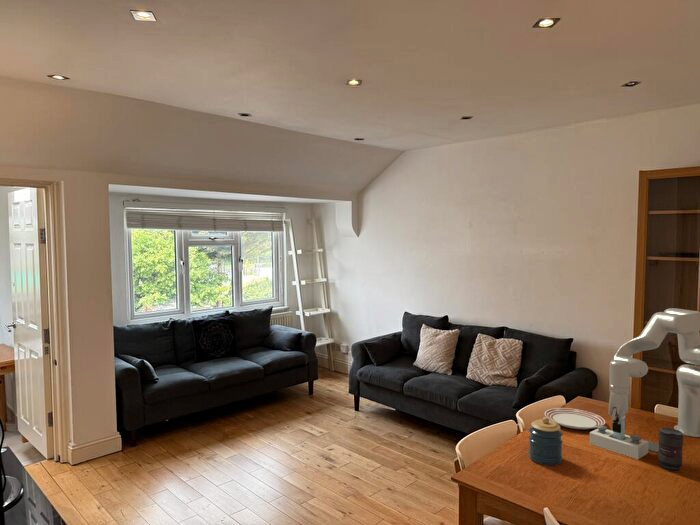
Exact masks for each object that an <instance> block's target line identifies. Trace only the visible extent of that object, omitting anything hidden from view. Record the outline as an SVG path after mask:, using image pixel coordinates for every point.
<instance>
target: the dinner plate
mask: <svg viewBox="0 0 700 525" xmlns="http://www.w3.org/2000/svg"><path fill="white" fill-rule="evenodd" d="M544 417H547V418H548V419H549V420H551V421H554V422H555V423H556V424H558V425H559V426H560V427H561V426H562V427H565V428H568V429H574V430H590V429H597V425H604V426H605V424H606V420H605V419H604V418H603V417H602V416H601V415H599V414H596V413H594V412H590V411H587V410H582V409H578V408H570V407H555V408H550V409H547V410H545V411H544Z"/></svg>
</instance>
